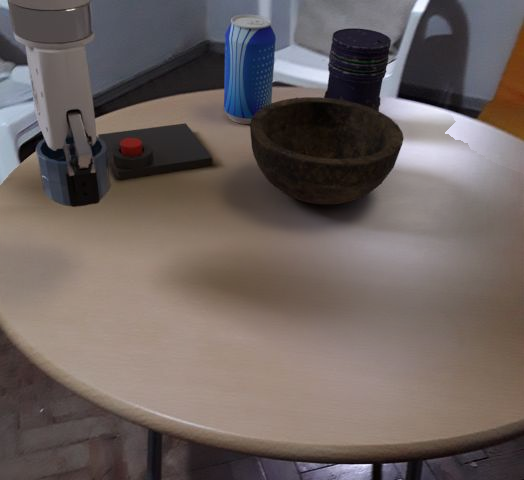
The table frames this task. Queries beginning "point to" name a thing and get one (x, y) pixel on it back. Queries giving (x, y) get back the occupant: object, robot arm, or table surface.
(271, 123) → the bowl
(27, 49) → the robot arm
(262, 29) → the beer can
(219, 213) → the table surface
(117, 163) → the base
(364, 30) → the storage jar
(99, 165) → the small cup
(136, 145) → the button
